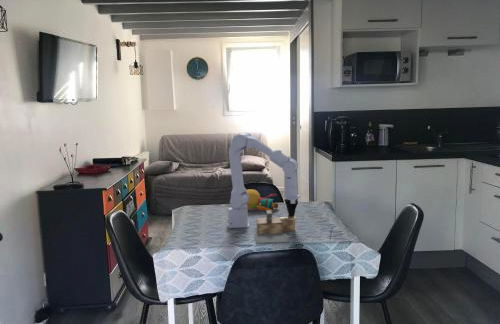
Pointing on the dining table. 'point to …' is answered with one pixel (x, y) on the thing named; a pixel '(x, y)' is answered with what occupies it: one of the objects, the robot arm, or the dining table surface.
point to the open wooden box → (277, 227)
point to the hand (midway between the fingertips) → (291, 215)
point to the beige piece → (288, 218)
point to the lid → (269, 219)
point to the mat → (272, 238)
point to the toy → (260, 201)
